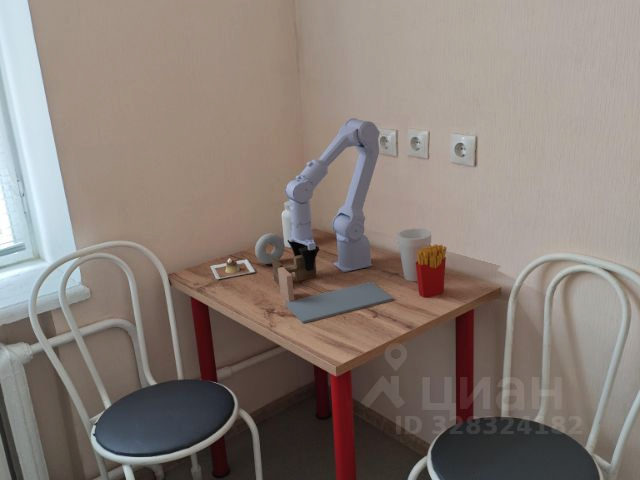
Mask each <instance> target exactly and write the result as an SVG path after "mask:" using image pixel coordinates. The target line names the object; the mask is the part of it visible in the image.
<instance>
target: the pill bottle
mask: <svg viewBox="0 0 640 480" xmlns="http://www.w3.org/2000/svg"><path fill="white" fill-rule="evenodd" d="M283 205H284V206H283V207H284V210H283V211H282V212H281V223H282V233H283V242H284V247H285V248H289V249H292V248H291V246H290V244H289V243H288V240H289V238H291V230H292V225H291V214H290V202H289V200H287V201H285V202H284V203H283Z"/></svg>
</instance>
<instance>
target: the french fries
mask: <svg viewBox="0 0 640 480" xmlns="http://www.w3.org/2000/svg"><path fill="white" fill-rule="evenodd" d="M446 253H447V247H446V246H445V245H442V244H440V245H438V244H434V245H431V244H430V245H429V247H428V246H426V249H425V248H422V249H420V250H419V252H418V253H417V258H418V261H417V262H416V272H417V280H418V281H417V287H418V288H417V289H418V296H419V297H422V298H429V299H430V298H434V297H436V296H439V295H442V294H443V293H444V291H445V290H444V289H445V288H444V287H445V274H446V262H447V261H446V260H447V256H446Z"/></svg>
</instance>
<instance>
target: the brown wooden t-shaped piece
mask: <svg viewBox="0 0 640 480" xmlns="http://www.w3.org/2000/svg"><path fill="white" fill-rule="evenodd" d="M316 264H317V262H316V260H315V263H314V269H313V270H310V271H306V269H305V265H304V261H303V257H302V255H298V256H294V255H293V266H290V267H284V265H283V263H281V262H280V261H279V260H277V259H275V258H272V264H271V265H272V272H273V281H275V283H276V284H278V286H279V287H280V285H279V275H278V268H281V267H283V268H284V269H286V270H287V271H288V272H289V273H290V274H291V273H294V276H295V277H294V278H295V280H296V281H297V282H299V281H303V280H307V279H313V278H317V277H318V276H317V274H318V273H317V265H316Z"/></svg>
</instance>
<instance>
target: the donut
mask: <svg viewBox="0 0 640 480" xmlns="http://www.w3.org/2000/svg"><path fill="white" fill-rule="evenodd" d="M269 245H273V249H272V251H271V252H270V253H268V252H267V250H266V249H267V247H268V246H269ZM284 252H285V244H284V239H283V238H282V237H281V236H280V235H279V234H277V233H274V232H270V233H265V234H263V235H262V236H261V237H259V239H258V240H257V241H256V243H255V247H254V253H255V257H256V258H257V259H258V261H259V262H260V263H263V264H266V265H272V258H275V259H277V260H278V261H279V260H280V259H281V258H282V256H283V255H284Z"/></svg>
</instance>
